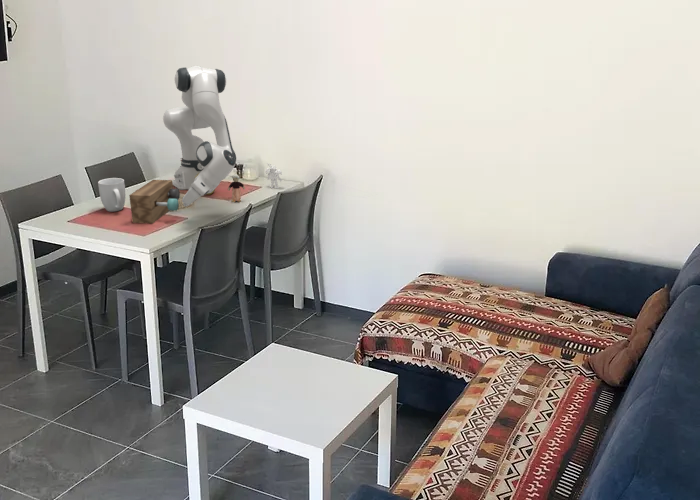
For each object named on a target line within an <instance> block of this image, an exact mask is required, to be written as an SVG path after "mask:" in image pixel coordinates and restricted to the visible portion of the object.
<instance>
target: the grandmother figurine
mask: <svg viewBox="0 0 700 500" xmlns="http://www.w3.org/2000/svg"><path fill="white" fill-rule="evenodd" d="M231 178H232V182H231V183H230V184H229V185H228V187H227V191H229V192H230V191H231V199H232V200H231V203H235V202H237V203H240V202H242V200H241V198H242V197H241V194H242V192H241V188H242V190H246V188H245V185H244V184H243V183H242V182H241V181H239V180H240V176H239V175H238V174H236V173H235V174H233V175H232V177H231Z"/></svg>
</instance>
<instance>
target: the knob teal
mask: <svg viewBox="0 0 700 500" xmlns="http://www.w3.org/2000/svg"><path fill="white" fill-rule="evenodd" d="M156 205H157V206H167V207H168V210H169V211H178V209H179V200H178V199H171V198H169V199H168V202H157V203H156Z"/></svg>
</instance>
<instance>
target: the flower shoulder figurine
mask: <svg viewBox="0 0 700 500" xmlns="http://www.w3.org/2000/svg"><path fill="white" fill-rule="evenodd" d="M266 164H267V167H268V168H266V169H265V170H264V172H265V173H266V174H267V180H268V181H269V180H270V187H269V188H271V189H279V187H280V186H279V183H278V181H279V182H280V183H281V182H282V180H283V179H282V178H281V177H280V176H281V175H283V172H282V170H281V169H278V167H276V165H274V164H273V165H272V164H270V163H266Z"/></svg>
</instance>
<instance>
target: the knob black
mask: <svg viewBox="0 0 700 500" xmlns="http://www.w3.org/2000/svg"><path fill="white" fill-rule="evenodd" d="M180 191H181V190H180V189H178V188H173V189H170V191H169V192H168V196H169V198H171V199H178V201H179V200H180V198H181V192H180Z"/></svg>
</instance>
